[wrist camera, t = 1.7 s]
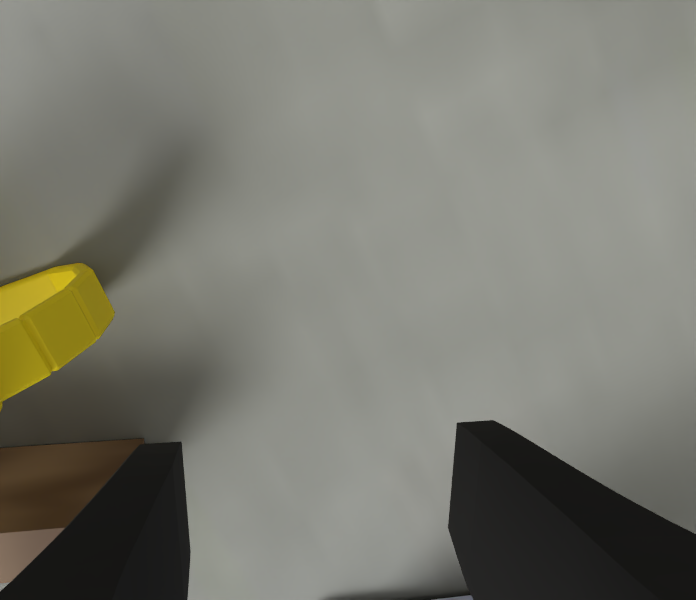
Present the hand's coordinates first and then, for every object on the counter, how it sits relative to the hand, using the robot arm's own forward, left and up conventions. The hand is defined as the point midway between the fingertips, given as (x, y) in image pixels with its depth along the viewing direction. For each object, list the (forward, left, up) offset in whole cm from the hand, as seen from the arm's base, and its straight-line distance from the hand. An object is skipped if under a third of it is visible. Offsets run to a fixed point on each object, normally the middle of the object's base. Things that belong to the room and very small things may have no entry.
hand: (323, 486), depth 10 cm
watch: (+8, 0, -10) cm, 12 cm away
